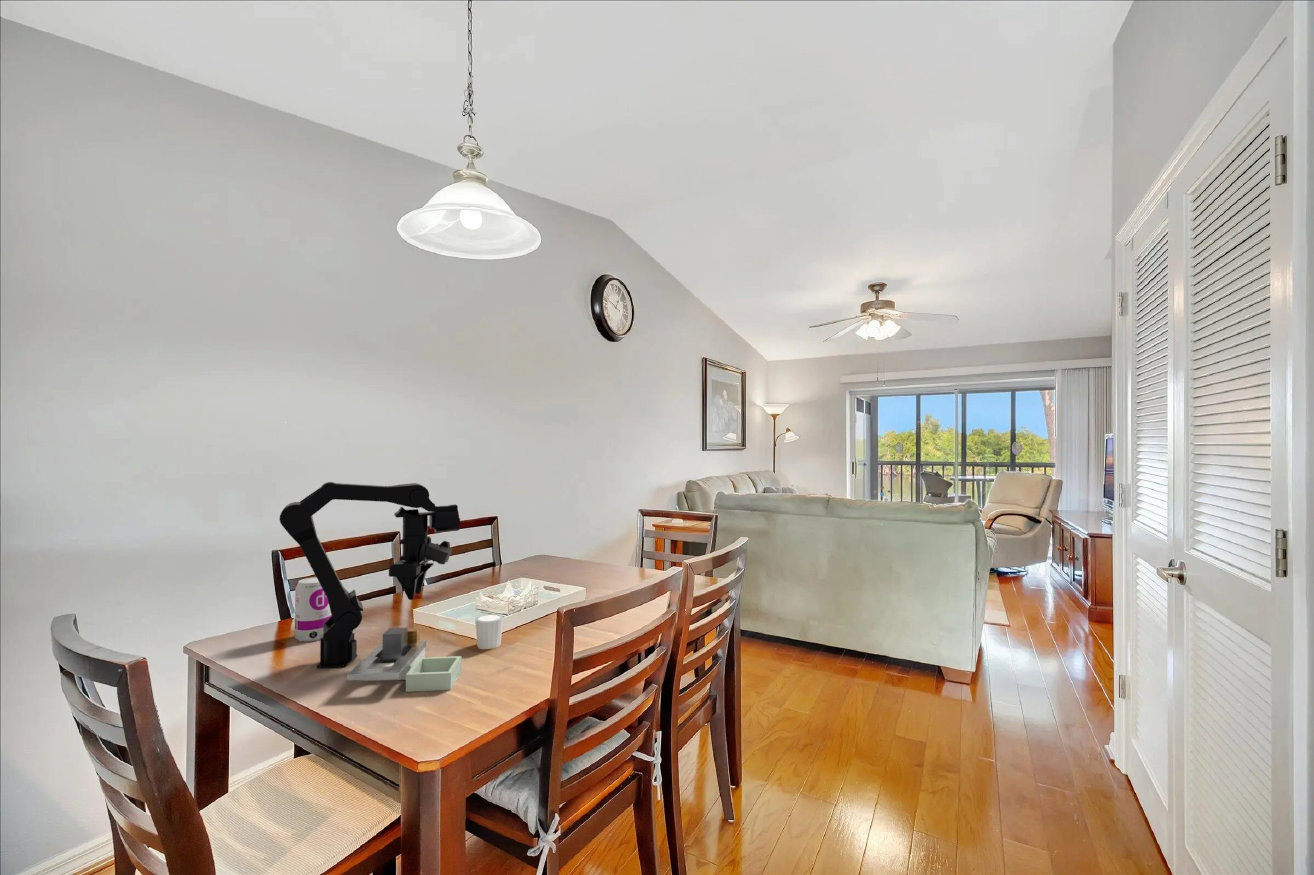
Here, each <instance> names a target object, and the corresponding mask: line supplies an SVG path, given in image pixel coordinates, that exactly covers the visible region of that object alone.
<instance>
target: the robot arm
mask: <svg viewBox="0 0 1314 875" xmlns="http://www.w3.org/2000/svg"><path fill="white" fill-rule="evenodd" d="M334 500H339V501H341V500H342V501H343V500H344V501H363V502H380V503H381V502H382V503H383V502H384V503H385V502H386V503H391V504H395V505H399V506H400V508H399V509H398V510H397V511H396V512H394V513H393V515H394V516H395V518H402V538H401V539H399V545H402V555H400V556H399V560H398V561H396V562H394V563H393V564H392V565H390V567H388V577H389V578H391V577H394V578H395V577H396V580H397V581H398V583H399V584H400V586H401V588H402V589H403V592H404V594H405V595H406V598H407V599H408V600H409V601H413V600H414V598H415V594H416V595H419V594H421V593H422V589H423V585H424V582H425V579H426V574H427V572H428V571H429V569H430V568H431V567H433V566H434V565H435V564H434V562H436V563H437V564H439V565H445V564H446V563H448V561H449V559H450V556H451V555H452V553H453V548H452V547H451V543H450V542H449V541H446V540H443V541H442V542H441V543H440V544H439V543H434V542H432V538H431V535H430V536H429V535H428V530H429V529H431V530H432V529H433V532H434V533H435V534H436V533H447V532H458V531H459V530H460V528H461V518H460V515H459V513H460V512H459V510H458V509H459V508H458V507H459V506H458V505H457V504H448V505H437V506H436V503H434V502H433V501H432V500H431V499H430V492H429V489H428V488H427V487H426V486H424V485H422V484H420V483H417V482H413V483H412V482H411V483H403V484H396V485H395V484H394V485H375V484H374V485H373V484H356V483H355V484H354V483H341V482H340V483H339V482H334V481H327V482H325V483H323V484H322V485H321V486H320V487H319V488H317V489H316V490H315V491H313V492H312V493H310V494H309V495H307V496H305V497H304V498H303V499H301V500H300V501H294V502H290V503H288V504H286V506H284V507H283V509H282V511H281V512H280V514H279V523H280V525H281V526H282V527H283V529H284V530H285V531H286V532H287V533H288V535H289V536H290V537H291V538H292V539H293V540H294V541H295V543H297V544H298V545H299V547H300V549H301V550H302V553H303V555H304V556H305V558H306V560H307V562H308V564H309V566H310V568H311V569H312V572H313V573H314V575H315V577H317V579H318V581H319V583H320V585H321V587H322V589H323V591H324V592H325V594H326V596H327V599H328V603H329V607H330V611H331V615H332V616H331V617H330V618H329V619H328V620H327V621H326V622H325V623H324V624H323V637H322V638H320V640H319V641H320V646H319V647H320V648H319V649H320V650H319V658H320V659H319V663H318V664H316V668H317V669H319V668H344V667H347V666H348V665H350V663H351V662H353V661H355V659H356V658H357V657H358V652H357V650H358V649H357V646H358V645H357V642H358V641H357V639H355V632H354V630H356V628H358V627H359V625H361V623H362V620H363V616H362V615H363V614H362V612H363V611H364V607H363V602H361V601H360V600H359V599H358V596H357V592H356V590H355V589H353V590H352V591H350V592H349V591H348V590H347V589H346V588H345V587H344V586H343V583H342V582H341V580H340V577H339V576H338V574H337V572H336V569H335V568H334V565H333V564H332V563H331V560H330V558H329V556H328V554H327V553H326V550H325V549H324V547H323V545H322V543H321V541H320V539H319V537H318V534H317V530H316V527H315V526H316V525H315V521H314V517H313V515H315V514H317V513H318V512H319V511H320V510H321V509H323V508H324V507H325V506H327V504H329V503H330V502H331V501H334ZM404 507H409V508H413V509H405V508H404ZM420 508H421V509H424V510H425V511H427V512H420V511H419V509H420ZM428 522H429V525H428ZM428 526H429V529H428ZM429 561H432V562H433V563H432V562H429Z"/></svg>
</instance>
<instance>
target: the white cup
mask: <svg viewBox="0 0 1314 875" xmlns="http://www.w3.org/2000/svg"><path fill="white" fill-rule="evenodd" d="M503 622H504V616H503V615H501V614H498V613H488V614H482V615H479V616H476V617H475V629H476V631H475V632H476V643H477V648H478V649H481V650H493V649H495V648H496V649H497V648H498V647H501V644H502V633H503V624H504V623H503Z"/></svg>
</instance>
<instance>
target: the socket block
mask: <svg viewBox="0 0 1314 875" xmlns="http://www.w3.org/2000/svg"><path fill="white" fill-rule="evenodd" d="M408 652H409V651H407V653H408ZM423 657H426V647H425V648H424V649H423V650H422V651H421V652H420V654H419V655H418V656H417V657H416V658H415V660H414V661H413V662H412V663H411V664H410V666H409V667H408V668H407V669H406V670H405V672H404V673H403V674H402V675H401V676H400V677H399V678H397V679H370V680H361V681H362V682H370V681H371V682H374V681H375V682H376V681H378V682H379V681H399V680H400V681H402V680H405V681H406V674H407V673H408V672H409V670H410V669H411V668H412V667H413V665H414V664H415V663H416V662H417V661H418V659H419V658H423ZM393 664H394V663H382V655H381V656H380V657H379V658H378V663H377V664H376V665H375V666H374V667H373V668H372V669H381V668H391V666H392V665H393Z"/></svg>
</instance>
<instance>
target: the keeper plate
mask: <svg viewBox="0 0 1314 875" xmlns="http://www.w3.org/2000/svg"><path fill="white" fill-rule="evenodd" d="M420 629H421V628H420V627H417V628H415V627H414V628H412V627H411V628H408V646H407V651H409V652H408V653H407V654H406V655H405V656H401V657H400V658H399V659H398V660H397V661H396V662H395V663H394V664H393V665H392V666H391V668H381V669H372V668H373V667H374V666H375V665H376V664H377V663H378V658H379V657H380V656H381V655H382V649H383V641H381V643H379V644H378V645H376V647H375V648H374V649H373V650H372V651H371V652H369V654H367V655H366V656H365V657H364V658H363V659H362V660H361V661H360V662H359V663H358V664H357V665H356V666H355V667H354V668H352V669H351V670H350V672H348V673H347V676H346V679H347V680H346V681H362V680H370V679H397V678H399V677H400V676H401V675H402V674H403V673H404V672H405V670H406V669H407V668H408V667H409V666H410V664H411V663H412V662H413V661H414V660H415V658H416V657H417V656H418V655H419V654H420V652H421V651H422V650H423V649H424V648H425V649H426V646H427V640H421V639H420V638H421V637H420V633H421V630H420Z"/></svg>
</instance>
